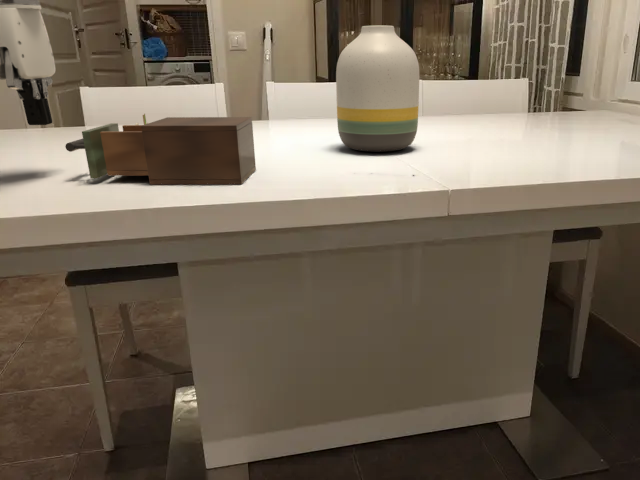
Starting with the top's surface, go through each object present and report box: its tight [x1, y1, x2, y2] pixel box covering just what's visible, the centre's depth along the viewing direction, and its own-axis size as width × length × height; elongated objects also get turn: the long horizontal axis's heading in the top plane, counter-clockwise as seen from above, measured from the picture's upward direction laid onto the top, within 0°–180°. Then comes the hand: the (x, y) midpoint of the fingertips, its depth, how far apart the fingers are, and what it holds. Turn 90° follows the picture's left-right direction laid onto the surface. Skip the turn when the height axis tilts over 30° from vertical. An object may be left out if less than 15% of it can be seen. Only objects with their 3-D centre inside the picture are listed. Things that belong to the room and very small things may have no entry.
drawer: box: [64, 122, 148, 179], centre depth 92 cm, size 18×10×7 cm, turn 89°
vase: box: [335, 25, 420, 153], centre depth 114 cm, size 17×17×24 cm
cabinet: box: [141, 116, 257, 186], centre depth 91 cm, size 15×12×9 cm
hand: (40, 124), depth 91 cm, fingers closed
